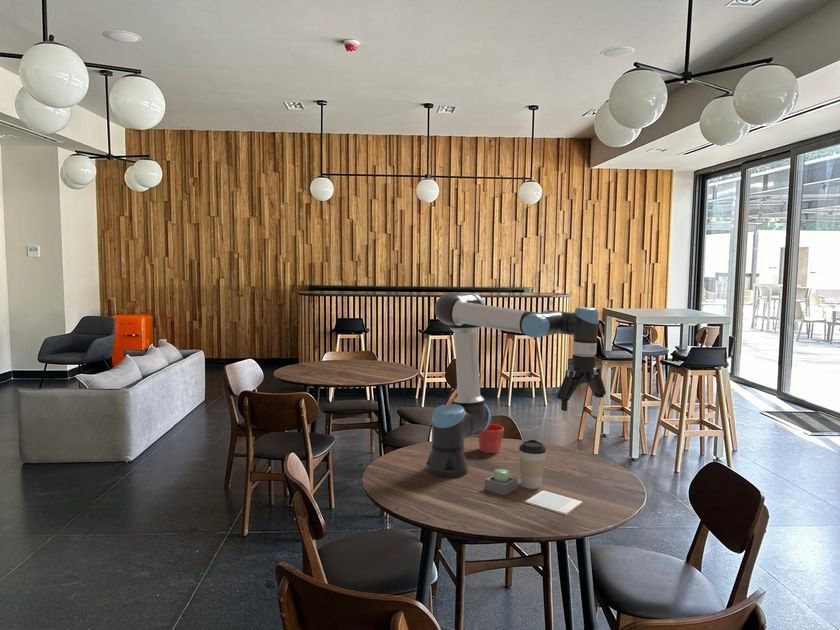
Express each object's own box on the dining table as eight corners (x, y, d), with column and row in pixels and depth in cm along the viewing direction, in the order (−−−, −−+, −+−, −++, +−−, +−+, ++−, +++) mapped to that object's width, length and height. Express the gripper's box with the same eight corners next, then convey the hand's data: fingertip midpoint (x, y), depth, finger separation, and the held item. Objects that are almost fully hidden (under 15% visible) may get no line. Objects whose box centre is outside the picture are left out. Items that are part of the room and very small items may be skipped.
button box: (484, 489, 202) (484, 479, 202) (496, 482, 208) (497, 472, 208) (505, 495, 197) (505, 485, 197) (517, 488, 203) (517, 478, 203)
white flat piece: (525, 502, 191) (525, 500, 191) (542, 492, 201) (542, 490, 200) (566, 515, 183) (566, 513, 182) (582, 503, 192) (582, 501, 192)
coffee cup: (544, 491, 201) (546, 447, 200) (517, 488, 203) (518, 445, 202) (544, 481, 210) (546, 440, 209) (518, 479, 212) (519, 437, 211)
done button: (490, 483, 202) (491, 471, 202) (498, 479, 206) (499, 468, 205) (503, 487, 199) (504, 475, 198) (511, 482, 203) (511, 471, 202)
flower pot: (488, 444, 251) (488, 422, 250) (508, 451, 243) (509, 427, 242) (470, 449, 244) (471, 426, 243) (491, 456, 236) (492, 432, 235)
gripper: (564, 358, 187) (560, 425, 189) (619, 354, 200) (615, 416, 202) (548, 354, 193) (544, 419, 195) (602, 350, 206) (597, 411, 208)
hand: (580, 418), depth 198 cm, fingers open, 13 cm apart
